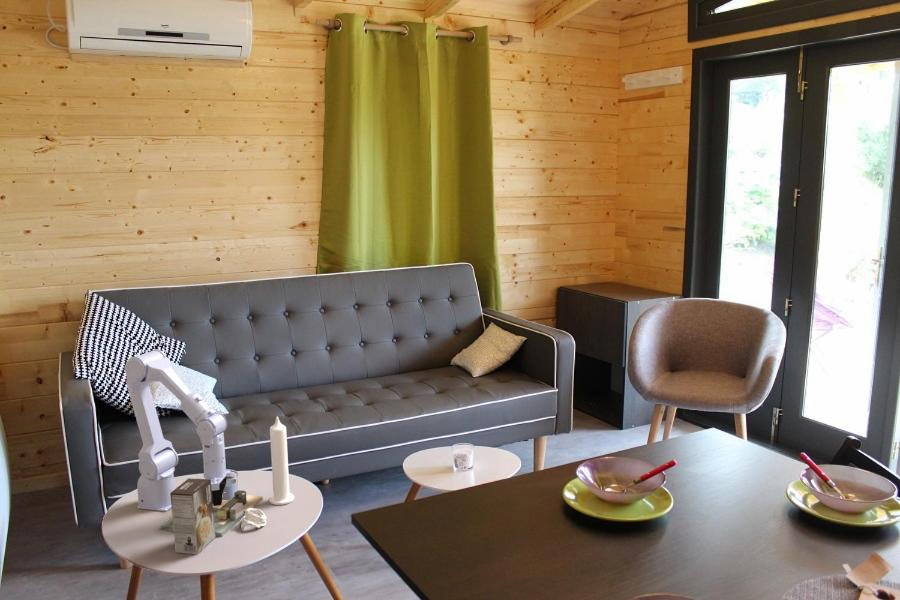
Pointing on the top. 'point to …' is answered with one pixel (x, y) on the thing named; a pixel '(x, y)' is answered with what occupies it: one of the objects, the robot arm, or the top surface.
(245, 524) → the white curved piece
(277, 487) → the candle
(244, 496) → the bar
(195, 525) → the coffee box
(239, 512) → the door and jamb
